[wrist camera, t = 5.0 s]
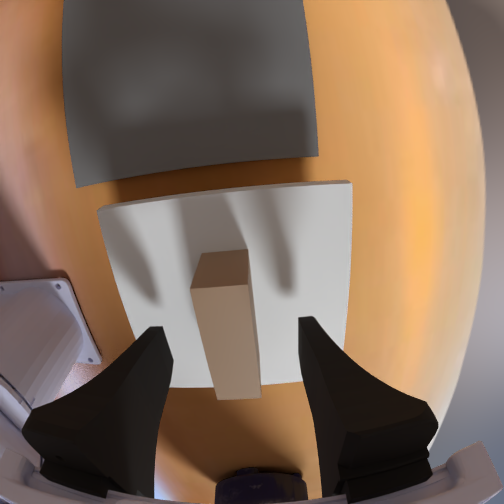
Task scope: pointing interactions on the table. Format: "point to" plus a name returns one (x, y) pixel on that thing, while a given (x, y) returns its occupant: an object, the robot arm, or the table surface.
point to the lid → (234, 277)
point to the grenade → (260, 488)
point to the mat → (184, 85)
